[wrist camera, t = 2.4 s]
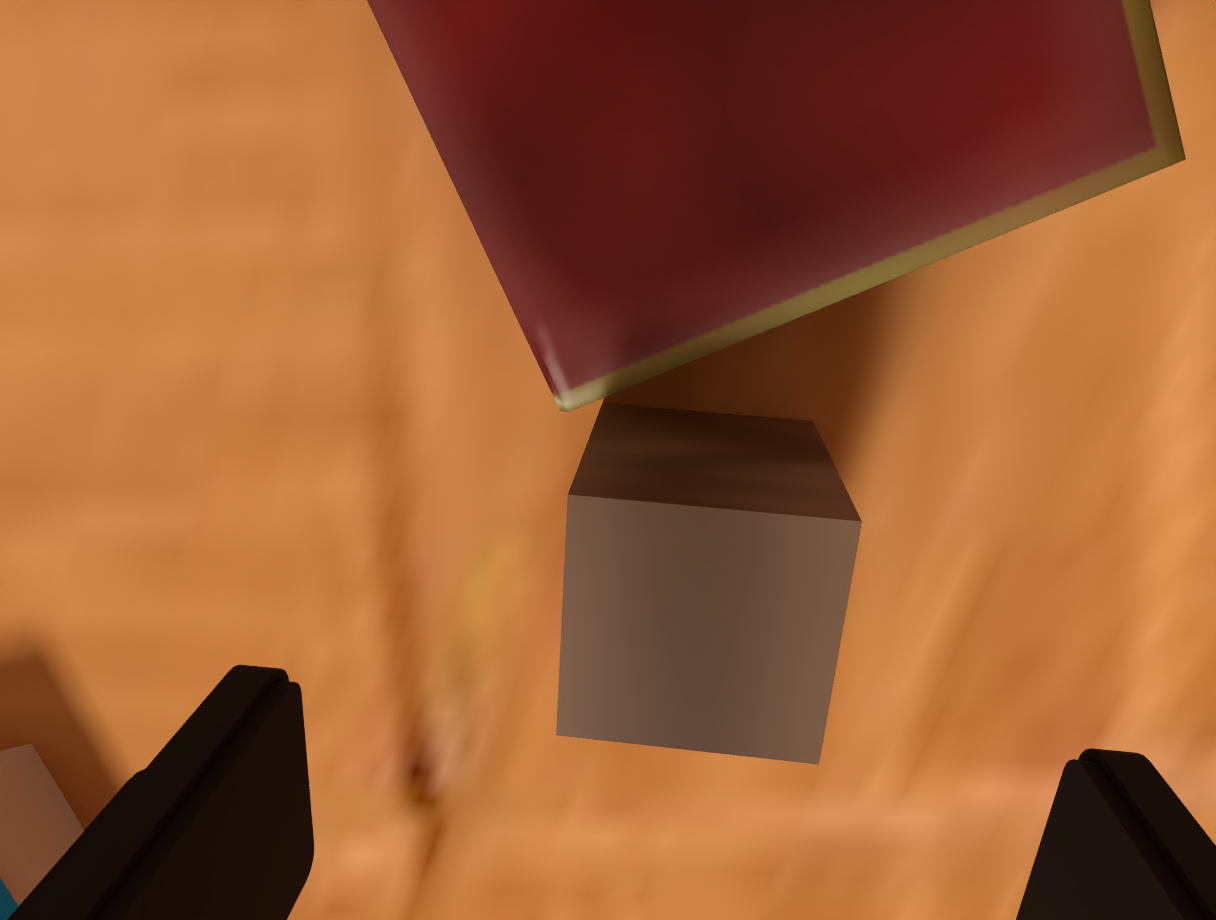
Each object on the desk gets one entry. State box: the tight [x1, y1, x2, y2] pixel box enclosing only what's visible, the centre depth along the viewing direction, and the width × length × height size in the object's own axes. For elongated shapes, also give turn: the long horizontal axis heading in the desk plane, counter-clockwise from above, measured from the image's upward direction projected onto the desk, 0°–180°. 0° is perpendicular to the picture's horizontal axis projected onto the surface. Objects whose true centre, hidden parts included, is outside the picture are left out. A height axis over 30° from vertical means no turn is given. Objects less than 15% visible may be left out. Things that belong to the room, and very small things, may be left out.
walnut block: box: [556, 404, 862, 764], centre depth 18 cm, size 5×5×6 cm
